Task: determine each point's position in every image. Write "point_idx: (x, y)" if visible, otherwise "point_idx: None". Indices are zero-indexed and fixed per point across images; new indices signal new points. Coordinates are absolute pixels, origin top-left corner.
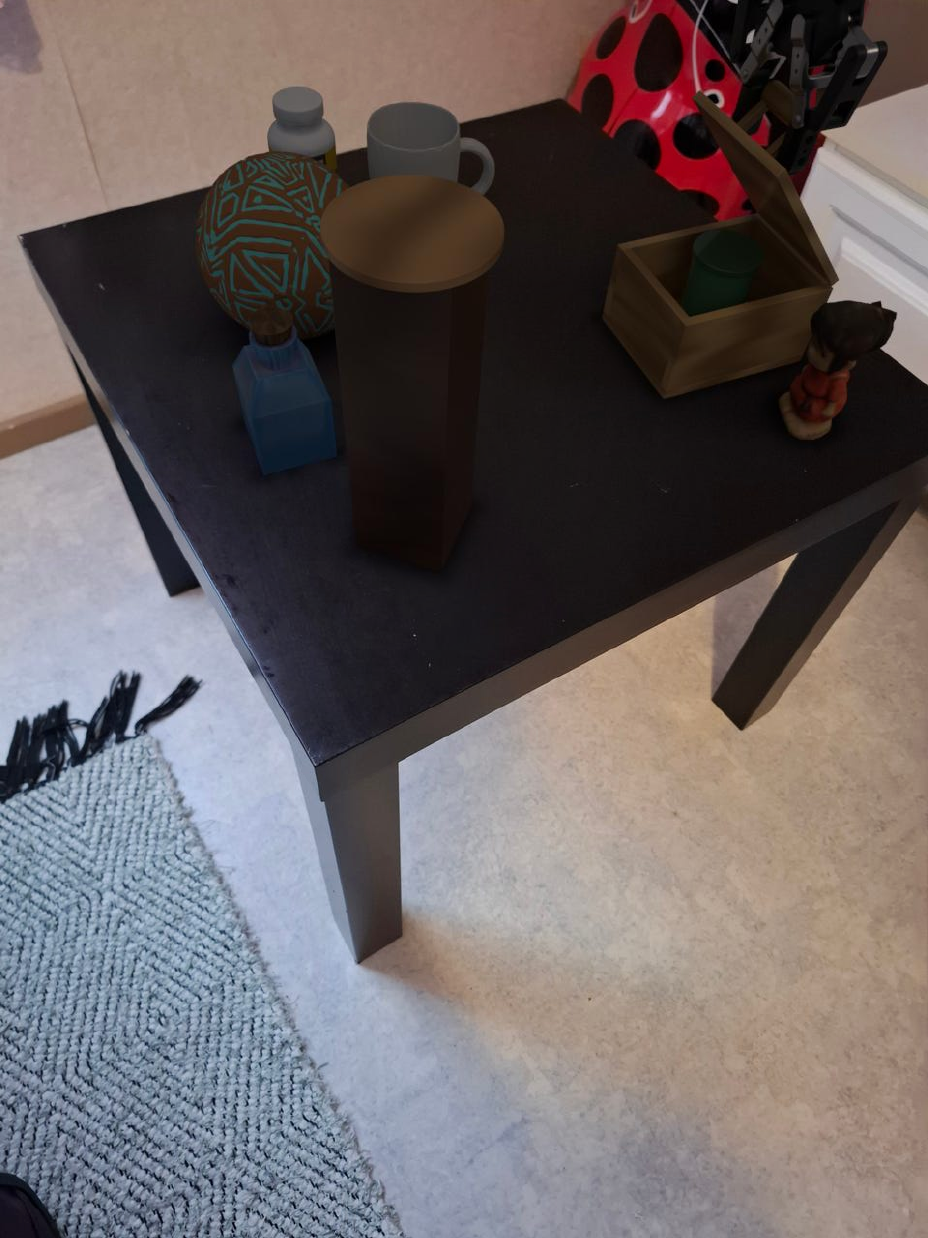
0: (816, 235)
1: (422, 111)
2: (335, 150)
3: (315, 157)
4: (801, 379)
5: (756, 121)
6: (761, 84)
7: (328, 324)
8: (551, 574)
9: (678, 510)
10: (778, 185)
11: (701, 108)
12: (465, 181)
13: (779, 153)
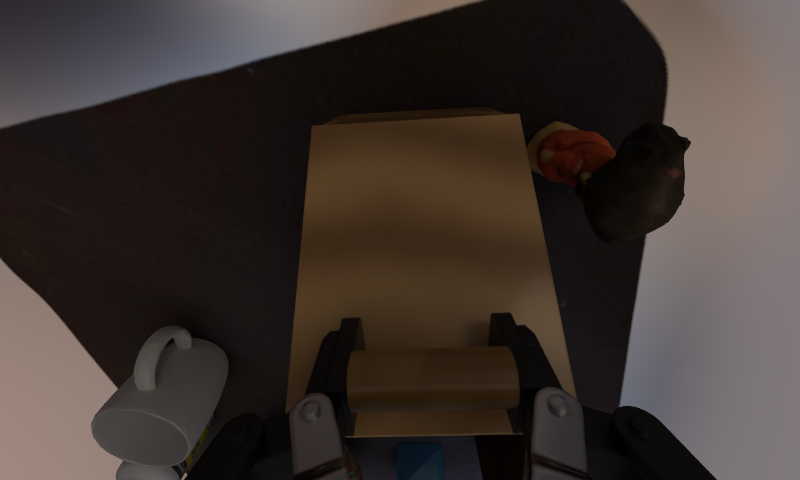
0: (542, 229)
1: (100, 417)
2: None
3: (177, 471)
4: (558, 176)
5: (358, 339)
6: (342, 413)
7: (358, 464)
8: (581, 384)
9: (584, 303)
10: None
11: None
12: (129, 303)
13: None
